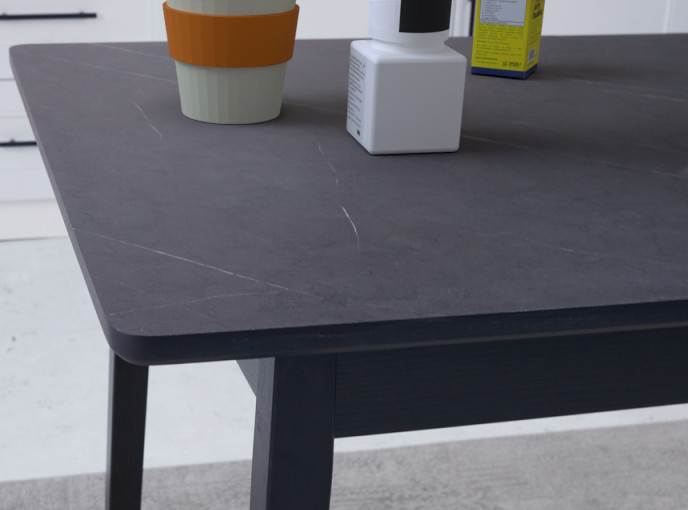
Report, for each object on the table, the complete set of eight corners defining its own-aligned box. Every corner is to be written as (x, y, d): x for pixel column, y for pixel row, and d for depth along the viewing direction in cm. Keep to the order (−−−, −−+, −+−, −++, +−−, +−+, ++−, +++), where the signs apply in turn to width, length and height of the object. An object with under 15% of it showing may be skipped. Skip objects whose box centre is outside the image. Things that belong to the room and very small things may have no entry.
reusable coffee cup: (235, 89, 113) (236, -75, 106) (328, 114, 105) (335, -62, 98) (133, 109, 105) (127, -68, 98) (225, 137, 97) (225, -52, 90)
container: (429, 128, 102) (442, -28, 96) (459, 152, 95) (475, -14, 89) (345, 131, 100) (352, -27, 94) (369, 155, 93) (379, -13, 87)
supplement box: (537, 69, 125) (550, -38, 120) (524, 80, 120) (537, -31, 115) (484, 64, 127) (494, -42, 122) (469, 74, 122) (479, -36, 117)
